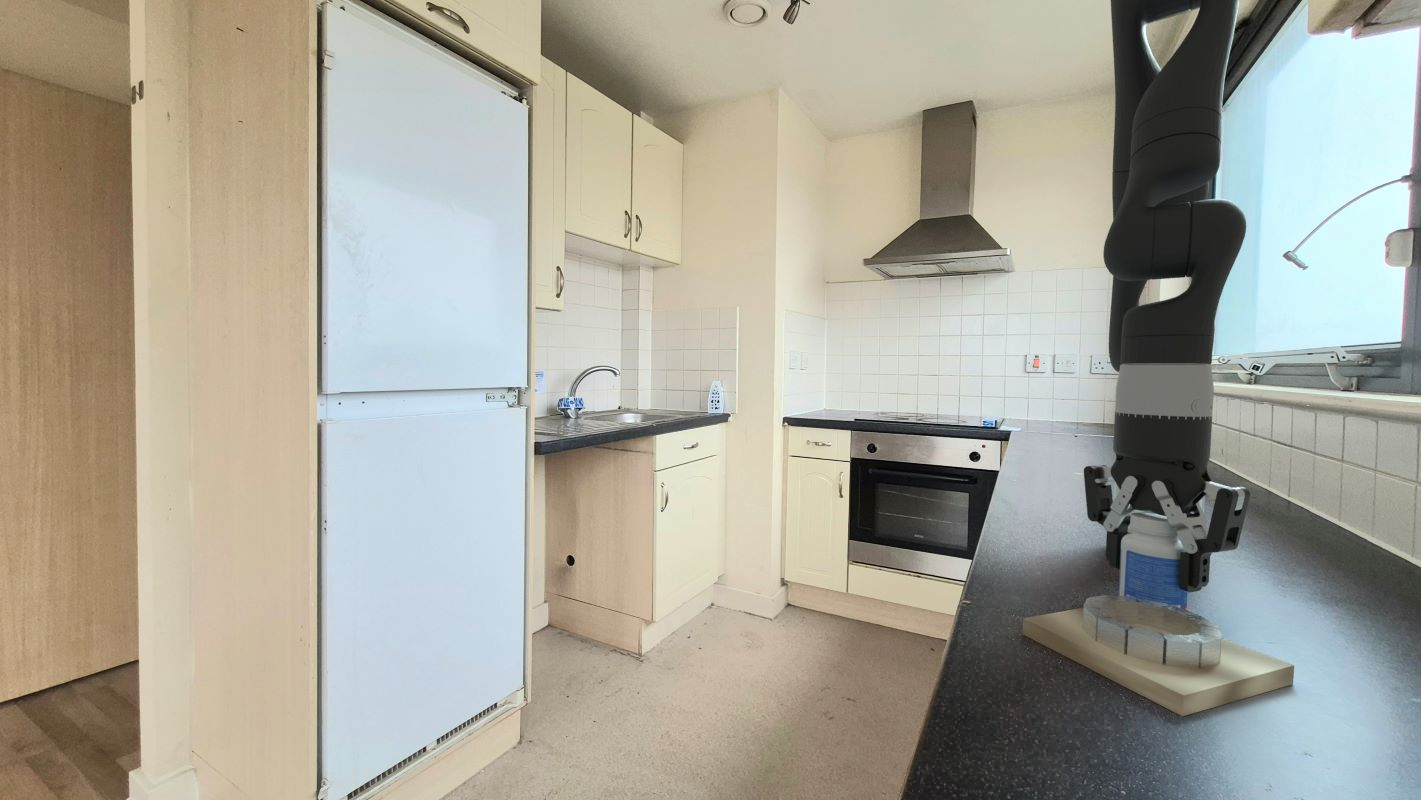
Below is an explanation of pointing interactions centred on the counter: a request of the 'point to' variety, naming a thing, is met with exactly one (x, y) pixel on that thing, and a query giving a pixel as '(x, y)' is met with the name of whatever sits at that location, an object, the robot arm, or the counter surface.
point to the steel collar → (1185, 647)
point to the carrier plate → (1163, 666)
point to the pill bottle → (1151, 561)
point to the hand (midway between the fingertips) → (1152, 577)
